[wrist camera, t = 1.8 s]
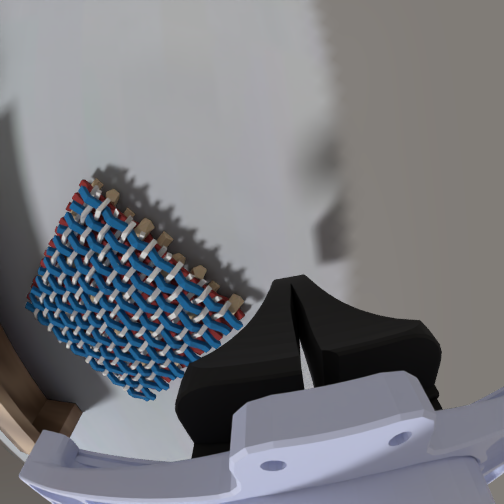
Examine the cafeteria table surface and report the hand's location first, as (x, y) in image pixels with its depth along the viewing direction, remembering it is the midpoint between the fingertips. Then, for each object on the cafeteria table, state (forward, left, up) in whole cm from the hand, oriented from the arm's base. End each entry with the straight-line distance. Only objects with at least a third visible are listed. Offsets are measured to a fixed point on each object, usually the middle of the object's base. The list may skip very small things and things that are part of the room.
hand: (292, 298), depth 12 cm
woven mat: (-7, +6, -3) cm, 10 cm away
